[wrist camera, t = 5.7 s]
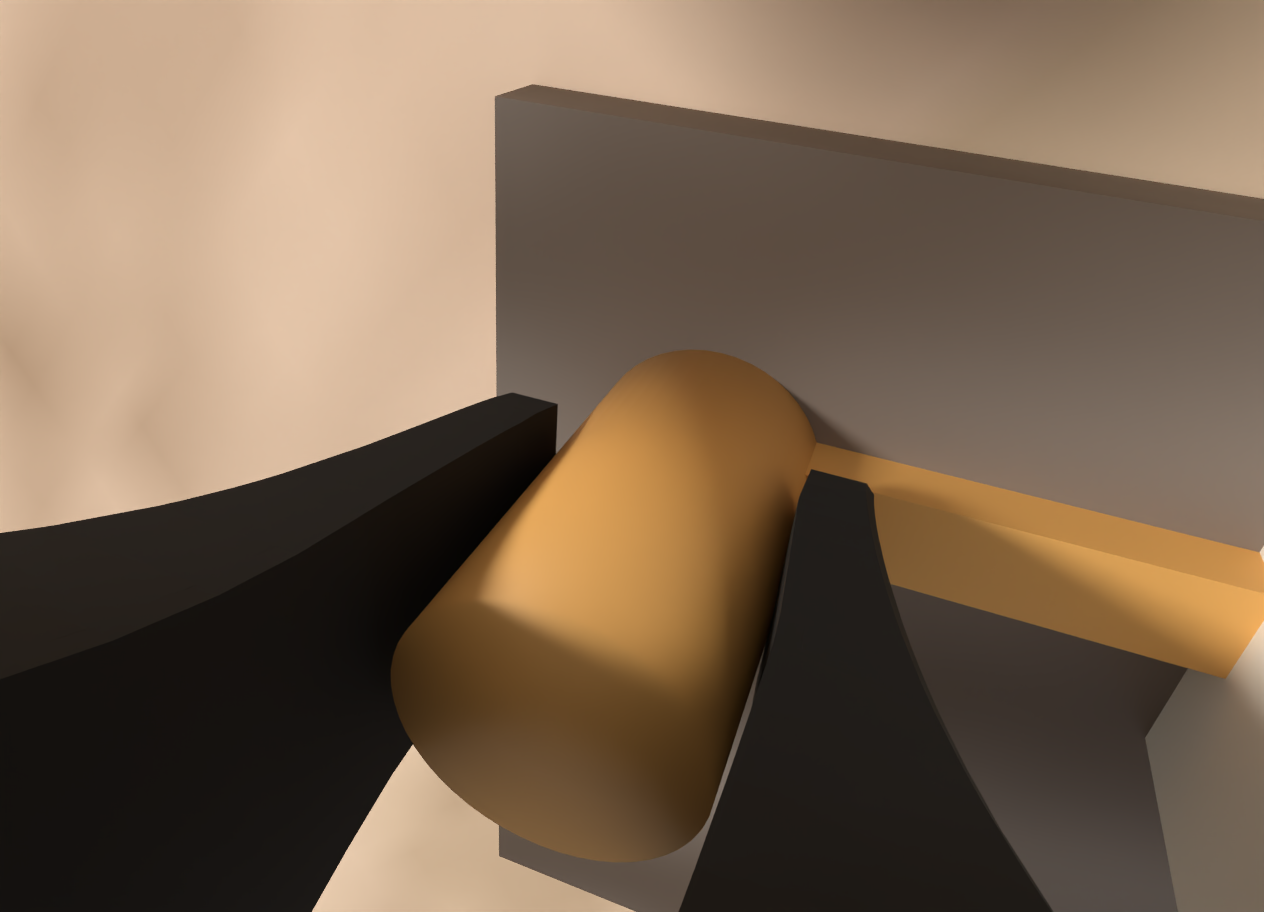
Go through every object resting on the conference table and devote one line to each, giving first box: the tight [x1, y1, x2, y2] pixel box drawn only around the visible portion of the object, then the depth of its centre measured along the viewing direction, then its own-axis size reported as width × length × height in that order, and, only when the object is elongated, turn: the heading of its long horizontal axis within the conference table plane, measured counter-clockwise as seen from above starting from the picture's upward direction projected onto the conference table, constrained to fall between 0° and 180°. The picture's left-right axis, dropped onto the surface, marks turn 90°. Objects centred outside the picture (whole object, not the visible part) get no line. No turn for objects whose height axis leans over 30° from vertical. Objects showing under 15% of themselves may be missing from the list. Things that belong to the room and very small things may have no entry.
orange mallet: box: [391, 350, 1264, 912], centre depth 8 cm, size 5×13×5 cm, turn 85°
